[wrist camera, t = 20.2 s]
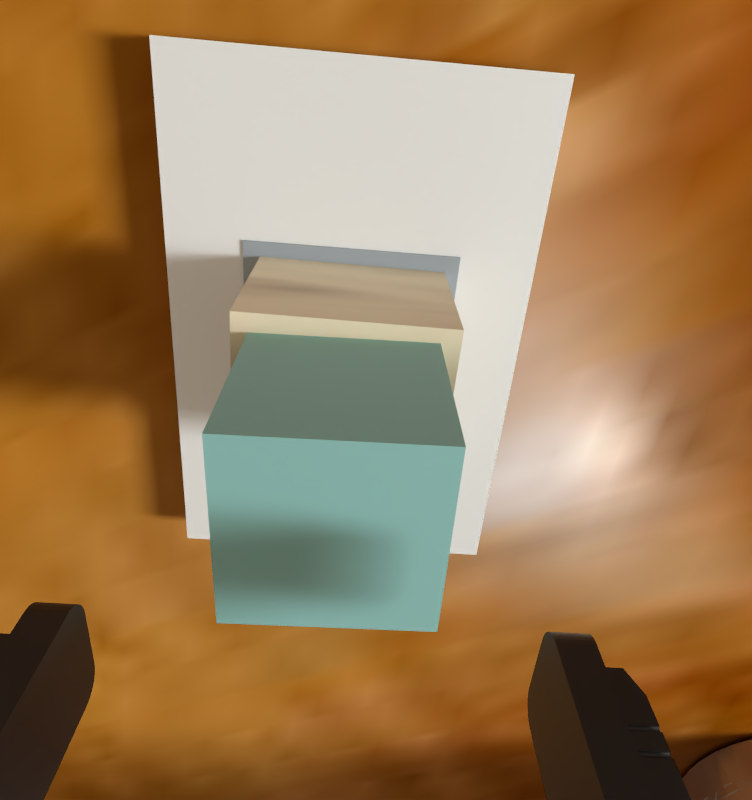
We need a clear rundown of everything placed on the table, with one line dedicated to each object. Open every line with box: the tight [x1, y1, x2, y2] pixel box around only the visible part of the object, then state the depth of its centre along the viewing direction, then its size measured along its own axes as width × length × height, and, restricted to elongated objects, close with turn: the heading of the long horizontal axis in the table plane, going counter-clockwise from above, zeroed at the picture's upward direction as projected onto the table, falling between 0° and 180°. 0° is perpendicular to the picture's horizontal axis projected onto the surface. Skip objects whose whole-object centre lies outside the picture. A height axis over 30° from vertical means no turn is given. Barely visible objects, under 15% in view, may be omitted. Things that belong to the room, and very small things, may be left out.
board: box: [149, 35, 575, 555], centre depth 23 cm, size 18×12×1 cm, turn 175°
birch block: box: [230, 257, 464, 394], centre depth 20 cm, size 6×6×5 cm
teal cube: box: [202, 332, 466, 632], centre depth 15 cm, size 5×5×5 cm
